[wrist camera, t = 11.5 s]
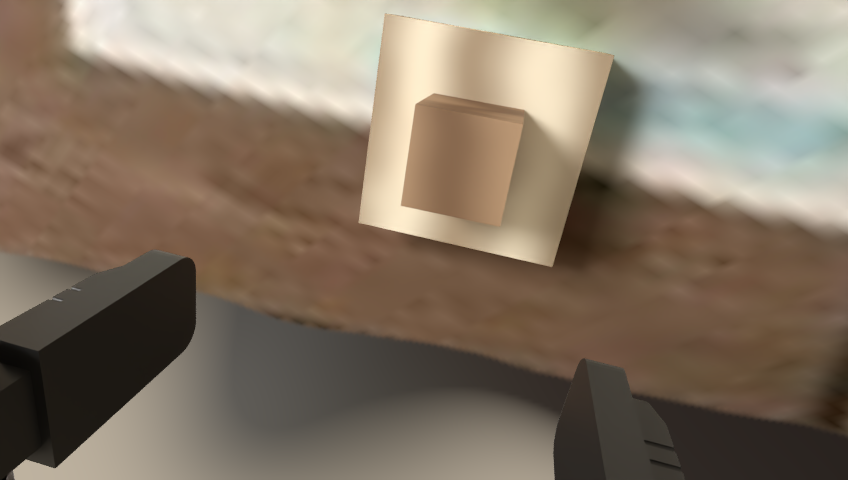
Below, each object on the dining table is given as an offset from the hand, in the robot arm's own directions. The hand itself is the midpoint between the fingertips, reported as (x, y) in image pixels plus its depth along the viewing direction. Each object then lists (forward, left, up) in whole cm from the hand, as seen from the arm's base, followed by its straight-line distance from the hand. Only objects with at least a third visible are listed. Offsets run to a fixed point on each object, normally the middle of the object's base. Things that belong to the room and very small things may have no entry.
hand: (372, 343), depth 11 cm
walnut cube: (0, 0, -20) cm, 20 cm away
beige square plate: (0, 0, -24) cm, 24 cm away
